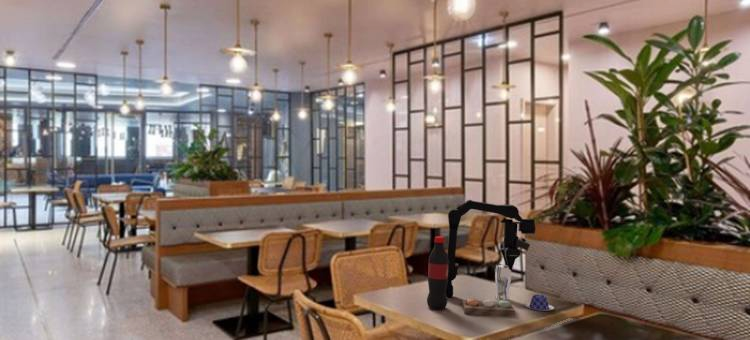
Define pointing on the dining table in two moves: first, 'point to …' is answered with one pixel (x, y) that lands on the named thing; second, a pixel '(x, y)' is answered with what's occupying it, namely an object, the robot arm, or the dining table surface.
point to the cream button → (488, 303)
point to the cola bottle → (437, 276)
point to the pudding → (539, 303)
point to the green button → (504, 304)
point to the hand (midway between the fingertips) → (508, 267)
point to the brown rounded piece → (472, 302)
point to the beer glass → (502, 282)
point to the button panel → (488, 309)
